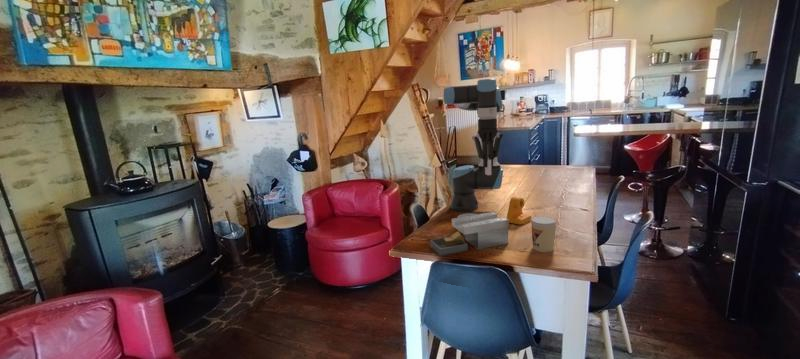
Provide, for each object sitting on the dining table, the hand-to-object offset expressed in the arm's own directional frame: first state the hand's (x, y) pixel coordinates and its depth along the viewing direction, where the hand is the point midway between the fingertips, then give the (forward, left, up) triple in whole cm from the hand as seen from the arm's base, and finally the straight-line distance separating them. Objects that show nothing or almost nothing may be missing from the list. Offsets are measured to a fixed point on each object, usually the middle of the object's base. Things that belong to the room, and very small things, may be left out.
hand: (488, 174), depth 158 cm
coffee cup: (+19, +13, -29) cm, 37 cm away
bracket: (-12, +23, -29) cm, 39 cm away
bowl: (-13, -3, -29) cm, 32 cm away
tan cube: (+4, -16, -26) cm, 30 cm away
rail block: (+3, -6, -29) cm, 29 cm away
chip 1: (+3, -18, -26) cm, 32 cm away
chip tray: (+3, -21, -29) cm, 35 cm away
